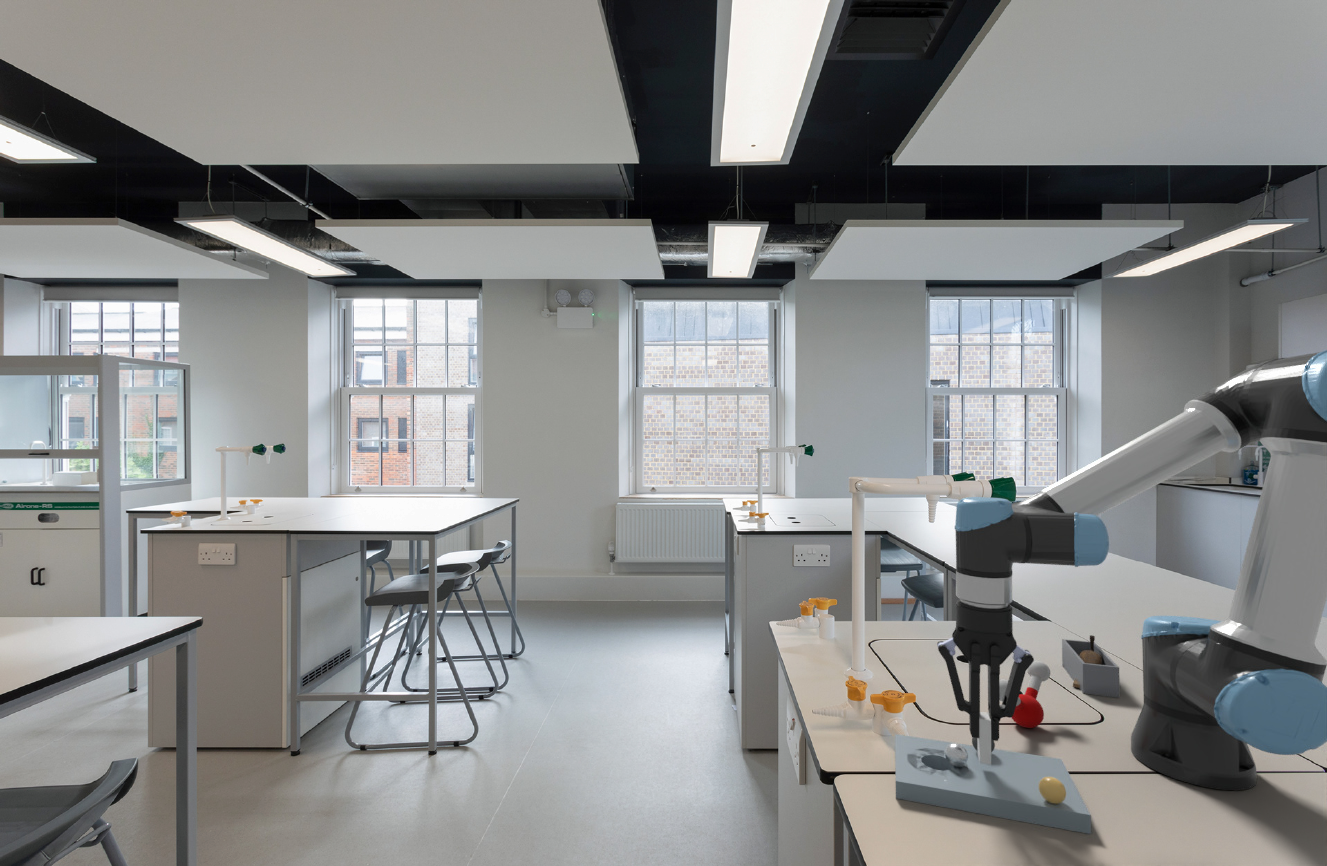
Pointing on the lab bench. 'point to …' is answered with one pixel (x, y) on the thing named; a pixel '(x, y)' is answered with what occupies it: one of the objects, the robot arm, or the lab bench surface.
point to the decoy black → (975, 744)
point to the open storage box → (1090, 669)
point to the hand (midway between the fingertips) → (984, 759)
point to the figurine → (1089, 658)
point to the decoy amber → (1052, 790)
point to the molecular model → (1029, 697)
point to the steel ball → (956, 755)
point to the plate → (987, 784)
